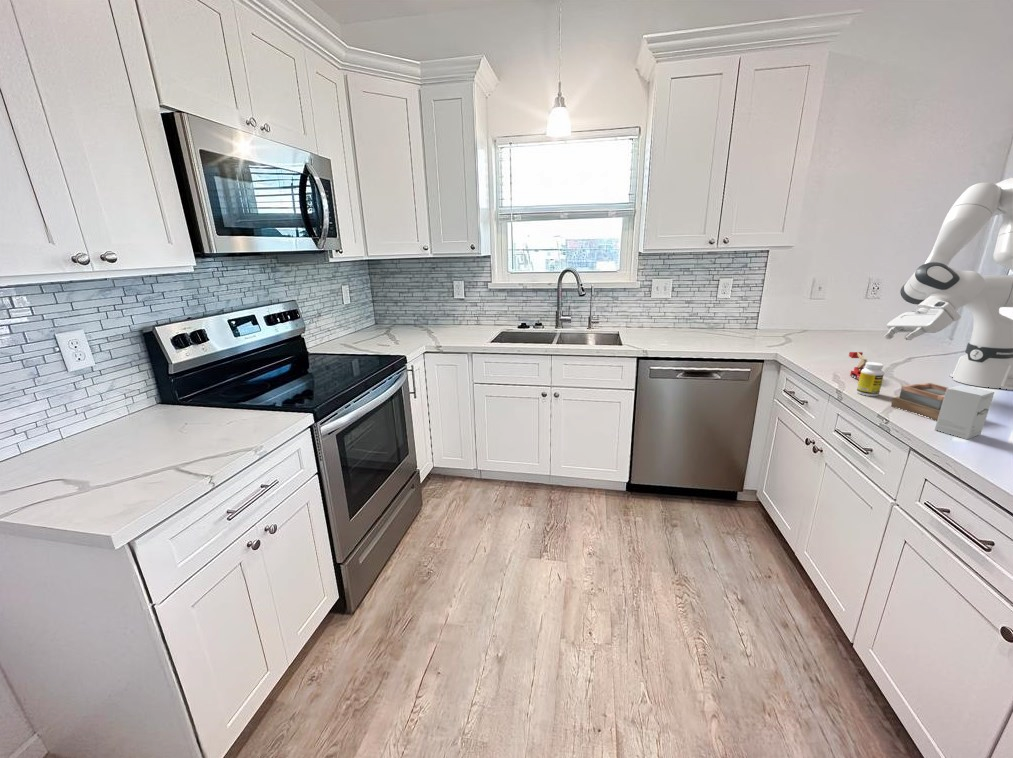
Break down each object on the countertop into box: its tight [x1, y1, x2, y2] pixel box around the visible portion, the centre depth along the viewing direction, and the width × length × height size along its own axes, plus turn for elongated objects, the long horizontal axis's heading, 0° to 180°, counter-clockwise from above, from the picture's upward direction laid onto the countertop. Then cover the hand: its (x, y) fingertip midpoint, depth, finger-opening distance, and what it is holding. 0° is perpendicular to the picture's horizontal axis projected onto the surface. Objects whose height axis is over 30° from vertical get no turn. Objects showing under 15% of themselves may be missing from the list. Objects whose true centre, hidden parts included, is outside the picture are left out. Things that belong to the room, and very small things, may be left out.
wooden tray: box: [890, 382, 948, 422], centre depth 136 cm, size 13×13×7 cm
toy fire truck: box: [848, 351, 868, 381], centre depth 169 cm, size 3×14×10 cm, turn 168°
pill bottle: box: [856, 361, 885, 397], centre depth 152 cm, size 6×6×11 cm
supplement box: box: [934, 384, 995, 440], centre depth 120 cm, size 7×7×13 cm
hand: (896, 338), depth 151 cm, fingers open, 8 cm apart
